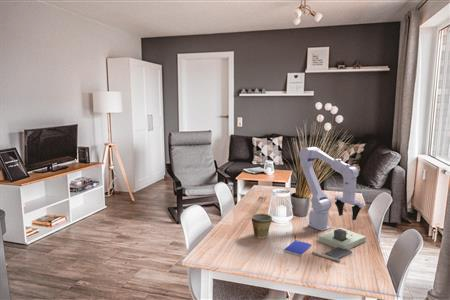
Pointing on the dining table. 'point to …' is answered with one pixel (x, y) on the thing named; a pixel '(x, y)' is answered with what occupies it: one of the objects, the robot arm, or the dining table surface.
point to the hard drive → (297, 248)
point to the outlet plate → (350, 241)
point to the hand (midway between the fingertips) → (347, 217)
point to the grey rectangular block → (340, 235)
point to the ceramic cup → (261, 225)
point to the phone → (338, 252)
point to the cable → (326, 256)
